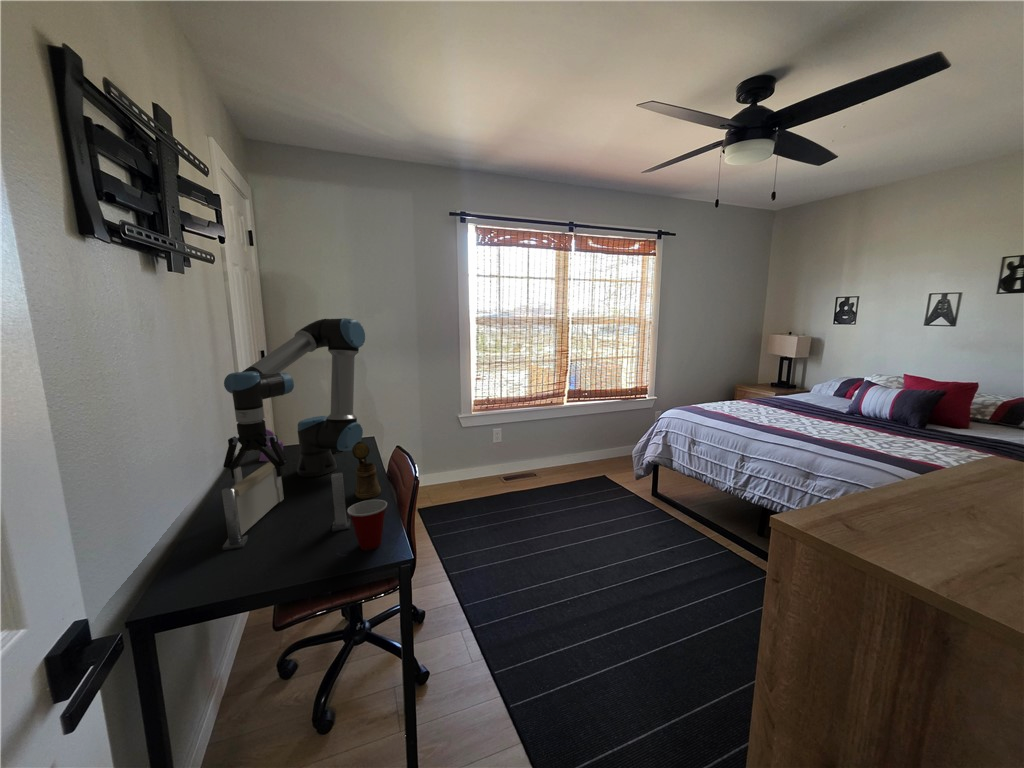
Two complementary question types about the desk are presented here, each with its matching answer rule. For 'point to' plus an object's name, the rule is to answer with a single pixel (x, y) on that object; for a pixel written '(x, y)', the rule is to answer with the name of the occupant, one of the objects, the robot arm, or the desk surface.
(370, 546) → the plastic cup
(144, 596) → the desk surface
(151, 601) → the desk surface
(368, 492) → the brown disc-topped figurine
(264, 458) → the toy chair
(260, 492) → the gate
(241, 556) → the desk surface
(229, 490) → the gate frame
